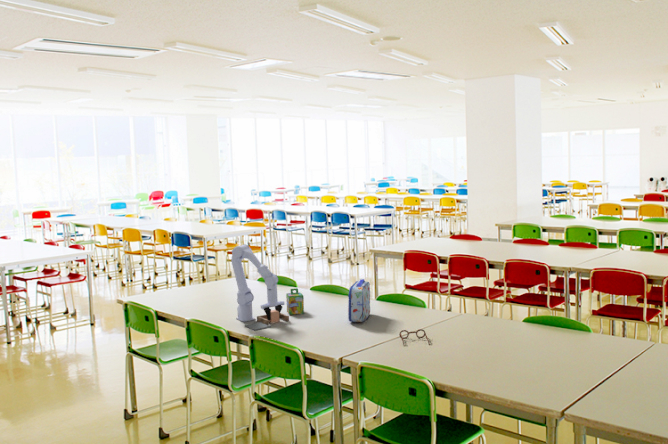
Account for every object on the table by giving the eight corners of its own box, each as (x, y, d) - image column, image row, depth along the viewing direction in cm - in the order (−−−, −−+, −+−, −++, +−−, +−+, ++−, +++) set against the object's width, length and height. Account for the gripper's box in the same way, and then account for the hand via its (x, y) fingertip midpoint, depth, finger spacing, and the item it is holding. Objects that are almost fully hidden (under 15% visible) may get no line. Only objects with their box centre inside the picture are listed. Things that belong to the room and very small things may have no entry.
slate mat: (244, 326, 326) (244, 325, 326) (260, 322, 332) (260, 321, 332) (254, 330, 317) (254, 329, 316) (270, 327, 322) (270, 326, 322)
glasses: (425, 338, 294) (424, 328, 294) (430, 346, 281) (430, 336, 281) (399, 339, 294) (399, 329, 293) (403, 347, 281) (403, 337, 280)
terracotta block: (267, 321, 335) (267, 311, 334) (275, 319, 337) (274, 309, 337) (271, 323, 330) (271, 312, 330) (279, 321, 333) (278, 311, 333)
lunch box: (354, 312, 349) (353, 276, 346) (372, 312, 346) (371, 276, 344) (346, 324, 322) (345, 286, 320) (365, 325, 320) (364, 286, 317)
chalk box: (289, 315, 347) (288, 291, 345) (286, 311, 355) (285, 288, 354) (304, 313, 349) (303, 289, 348) (301, 310, 358) (300, 286, 356)
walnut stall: (257, 321, 335) (256, 316, 335) (278, 317, 343) (278, 312, 343) (267, 325, 325) (266, 320, 325) (289, 321, 334) (288, 316, 333)
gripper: (264, 299, 325) (265, 322, 326) (286, 295, 333) (287, 318, 335) (258, 297, 331) (259, 320, 332) (280, 293, 339) (281, 315, 340)
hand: (273, 319), depth 334 cm, fingers closed on terracotta block, 5 cm apart
